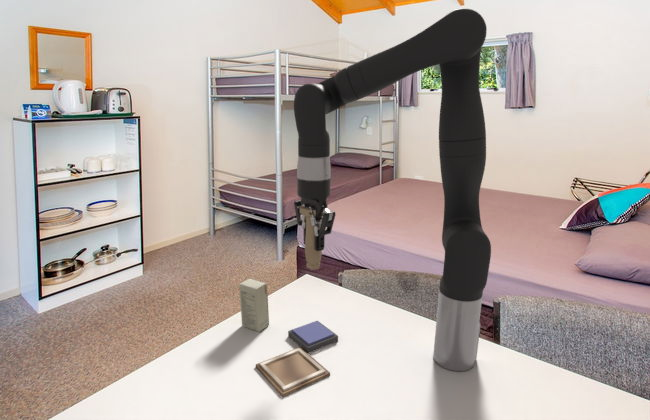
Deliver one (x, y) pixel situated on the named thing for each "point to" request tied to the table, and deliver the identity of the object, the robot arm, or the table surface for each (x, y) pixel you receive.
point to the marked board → (292, 371)
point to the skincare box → (254, 304)
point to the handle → (311, 241)
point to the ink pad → (312, 336)
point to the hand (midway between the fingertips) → (313, 246)
